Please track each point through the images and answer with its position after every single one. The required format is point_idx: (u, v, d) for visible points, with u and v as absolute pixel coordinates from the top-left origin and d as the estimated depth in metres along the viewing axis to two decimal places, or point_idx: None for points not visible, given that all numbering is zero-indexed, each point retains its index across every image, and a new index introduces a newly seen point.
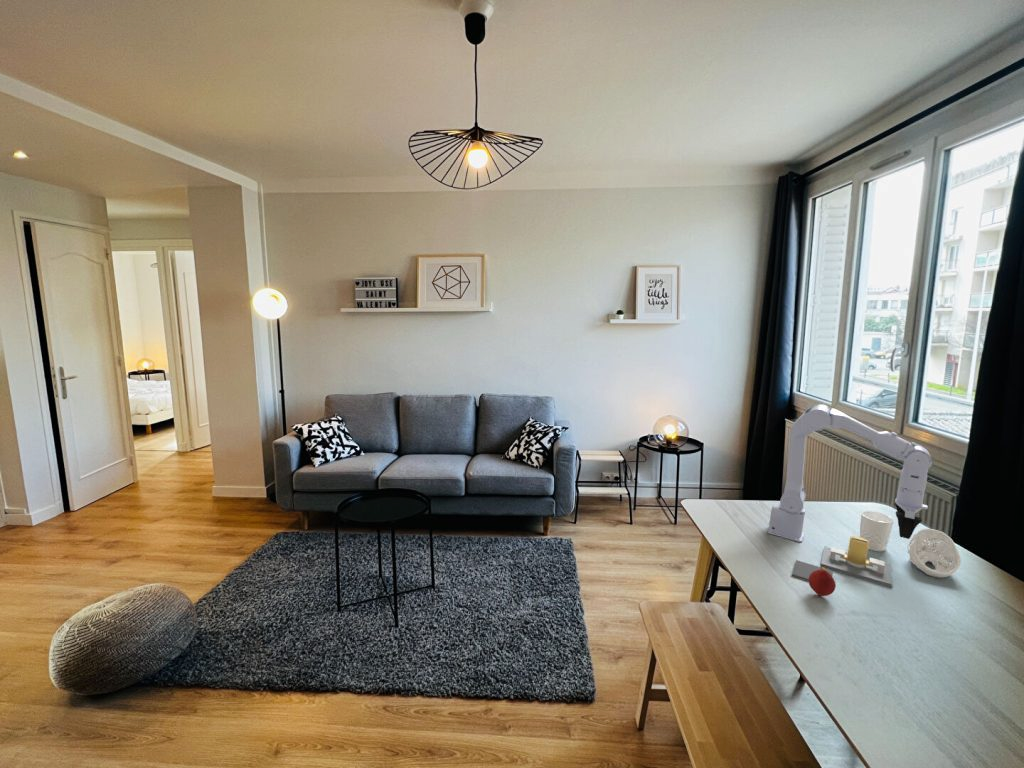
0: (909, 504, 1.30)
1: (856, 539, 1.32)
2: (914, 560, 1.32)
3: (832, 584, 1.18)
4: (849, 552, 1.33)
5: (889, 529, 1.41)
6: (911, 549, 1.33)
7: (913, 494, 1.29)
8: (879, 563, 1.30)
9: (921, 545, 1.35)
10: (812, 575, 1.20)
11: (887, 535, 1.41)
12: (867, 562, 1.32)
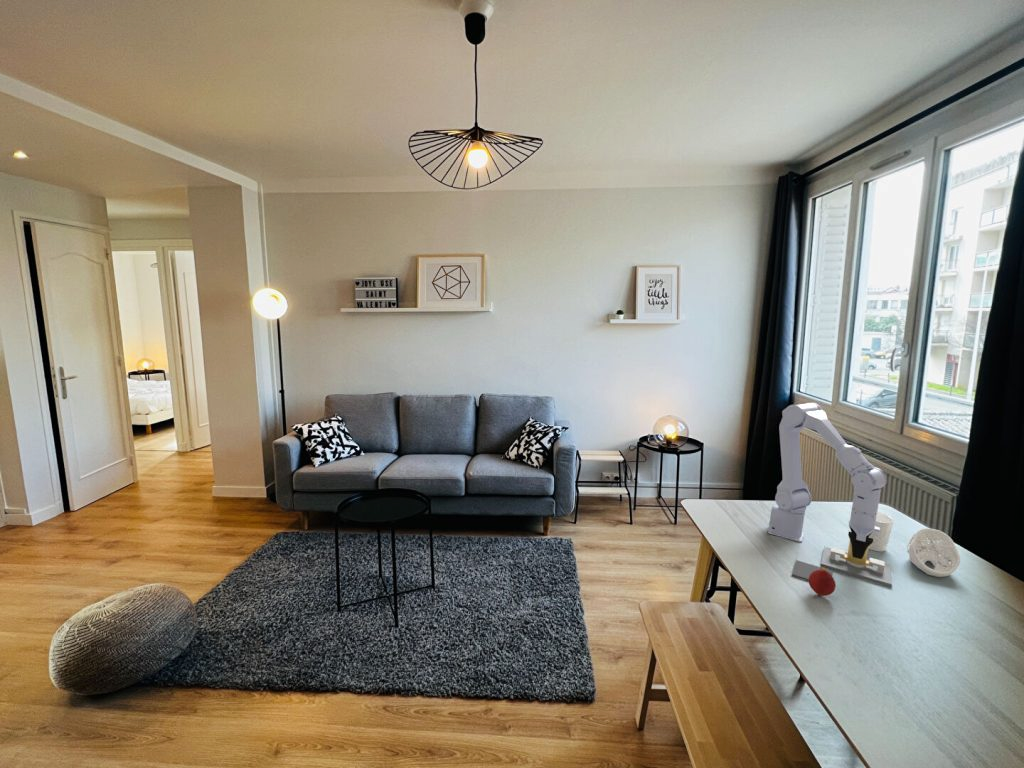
0: (861, 526, 1.29)
1: None
2: (914, 559, 1.32)
3: (832, 584, 1.18)
4: (849, 552, 1.33)
5: (889, 529, 1.41)
6: (911, 548, 1.33)
7: (865, 516, 1.28)
8: (879, 563, 1.30)
9: (921, 545, 1.35)
10: (812, 575, 1.20)
11: (887, 535, 1.41)
12: (867, 562, 1.32)
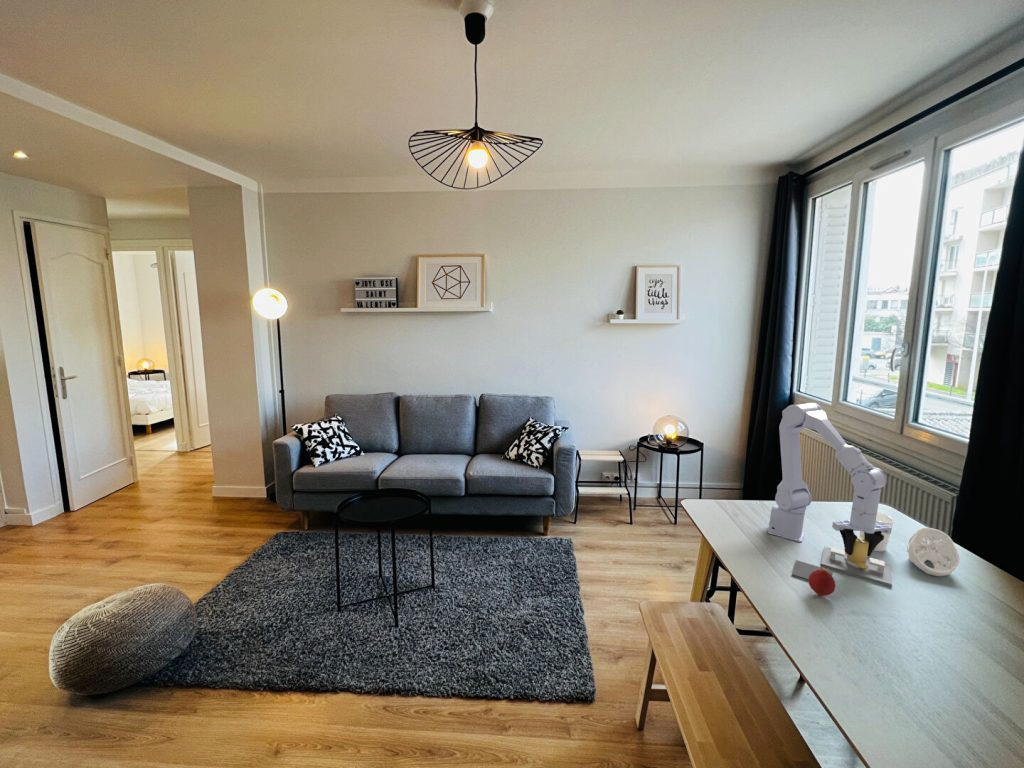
0: (851, 522, 1.32)
1: None
2: (913, 559, 1.33)
3: (832, 584, 1.18)
4: None
5: None
6: (910, 548, 1.34)
7: (854, 512, 1.31)
8: (879, 563, 1.30)
9: (920, 544, 1.36)
10: (812, 575, 1.20)
11: (887, 535, 1.41)
12: (861, 563, 1.31)
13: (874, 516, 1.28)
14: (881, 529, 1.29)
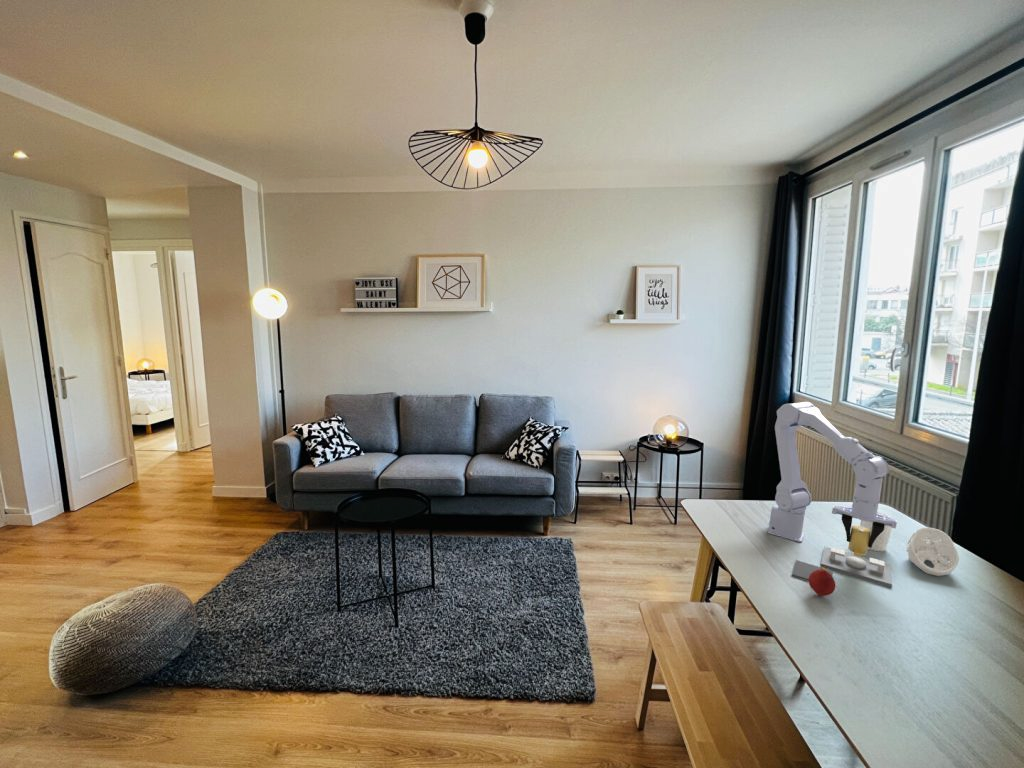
0: (851, 509, 1.33)
1: (859, 527, 1.32)
2: (913, 558, 1.33)
3: (832, 584, 1.18)
4: None
5: (889, 529, 1.41)
6: (910, 548, 1.34)
7: (853, 499, 1.32)
8: (879, 563, 1.30)
9: (920, 544, 1.36)
10: (812, 575, 1.20)
11: (887, 535, 1.41)
12: (856, 552, 1.31)
13: (871, 505, 1.27)
14: (881, 521, 1.27)
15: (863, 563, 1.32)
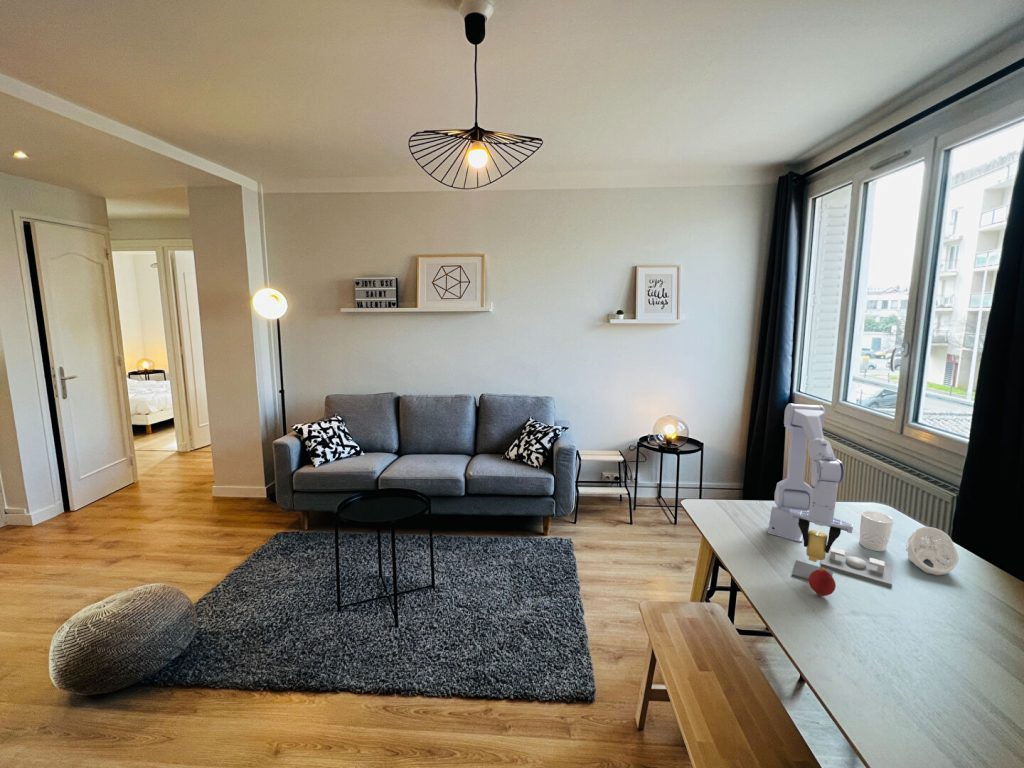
0: (808, 513, 1.29)
1: (817, 532, 1.29)
2: (912, 558, 1.33)
3: (832, 584, 1.18)
4: None
5: (889, 529, 1.41)
6: (909, 547, 1.34)
7: (810, 503, 1.28)
8: (879, 563, 1.30)
9: (919, 543, 1.36)
10: (812, 575, 1.20)
11: (887, 535, 1.41)
12: (812, 557, 1.28)
13: (826, 509, 1.24)
14: (838, 525, 1.23)
15: (863, 563, 1.32)
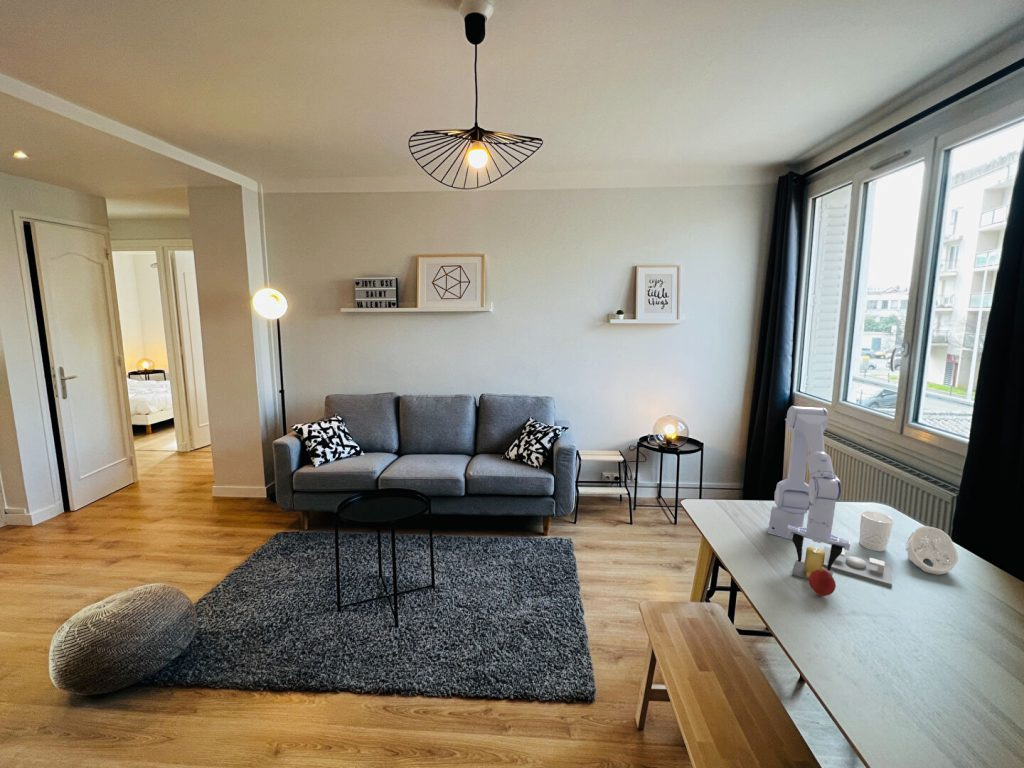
0: (806, 529, 1.30)
1: (815, 549, 1.30)
2: (912, 557, 1.33)
3: (832, 584, 1.18)
4: None
5: (889, 529, 1.41)
6: (909, 546, 1.35)
7: None
8: (879, 563, 1.30)
9: (919, 542, 1.37)
10: (812, 575, 1.20)
11: (887, 535, 1.41)
12: (809, 573, 1.29)
13: (824, 526, 1.25)
14: (835, 542, 1.24)
15: (863, 563, 1.32)
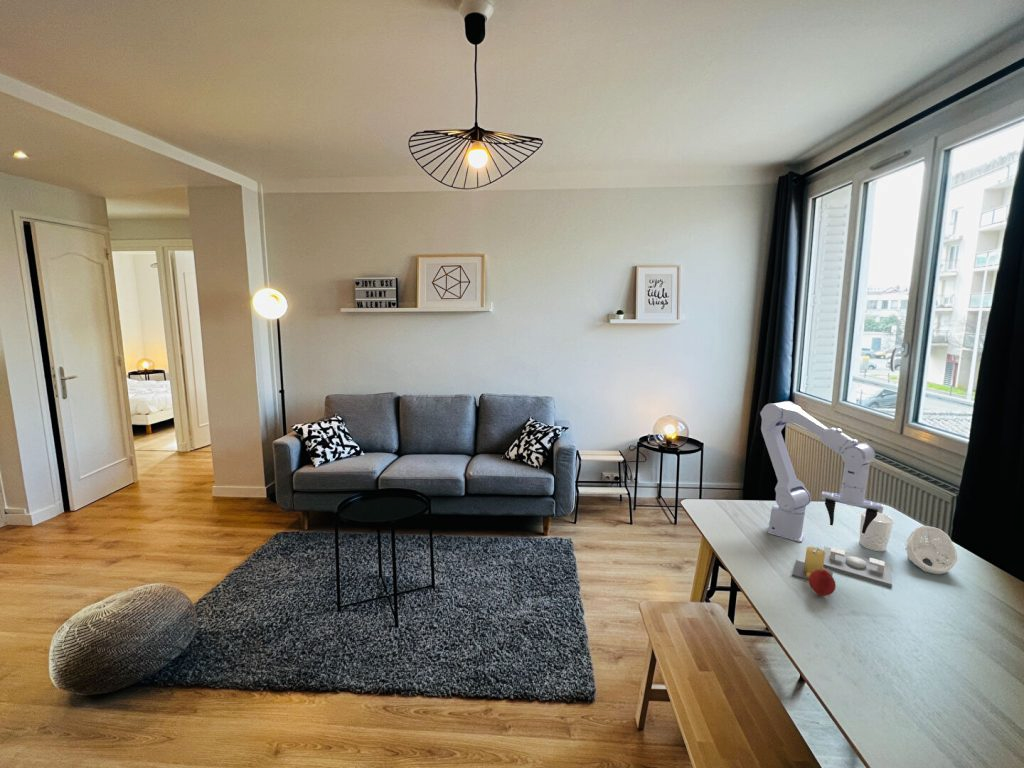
0: (840, 494, 1.37)
1: (815, 549, 1.30)
2: (911, 557, 1.34)
3: (832, 584, 1.18)
4: None
5: (889, 529, 1.41)
6: (908, 546, 1.35)
7: (841, 485, 1.36)
8: (879, 563, 1.30)
9: (919, 542, 1.37)
10: (812, 575, 1.20)
11: (887, 535, 1.41)
12: (809, 573, 1.29)
13: (858, 490, 1.31)
14: (868, 506, 1.31)
15: (863, 563, 1.32)
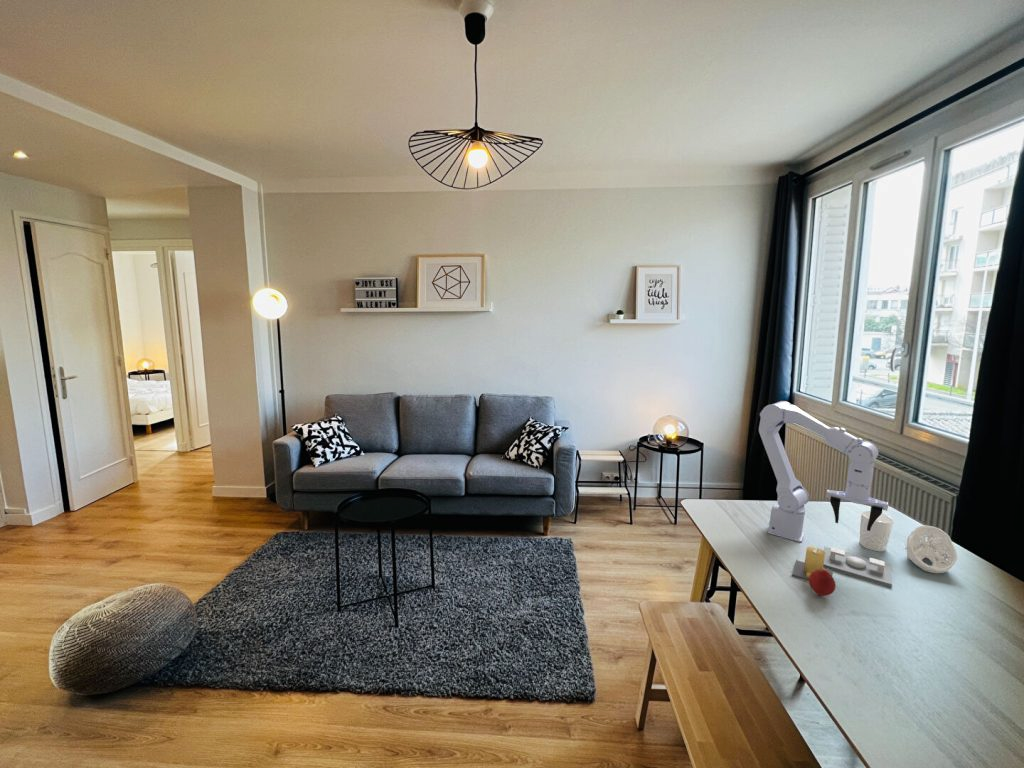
0: (845, 492, 1.38)
1: (815, 549, 1.30)
2: (911, 556, 1.34)
3: (832, 584, 1.18)
4: None
5: (889, 529, 1.41)
6: (908, 545, 1.35)
7: None
8: (879, 563, 1.30)
9: (918, 542, 1.37)
10: (812, 575, 1.20)
11: (887, 535, 1.41)
12: (809, 573, 1.29)
13: (863, 488, 1.33)
14: (874, 503, 1.33)
15: (863, 563, 1.32)
